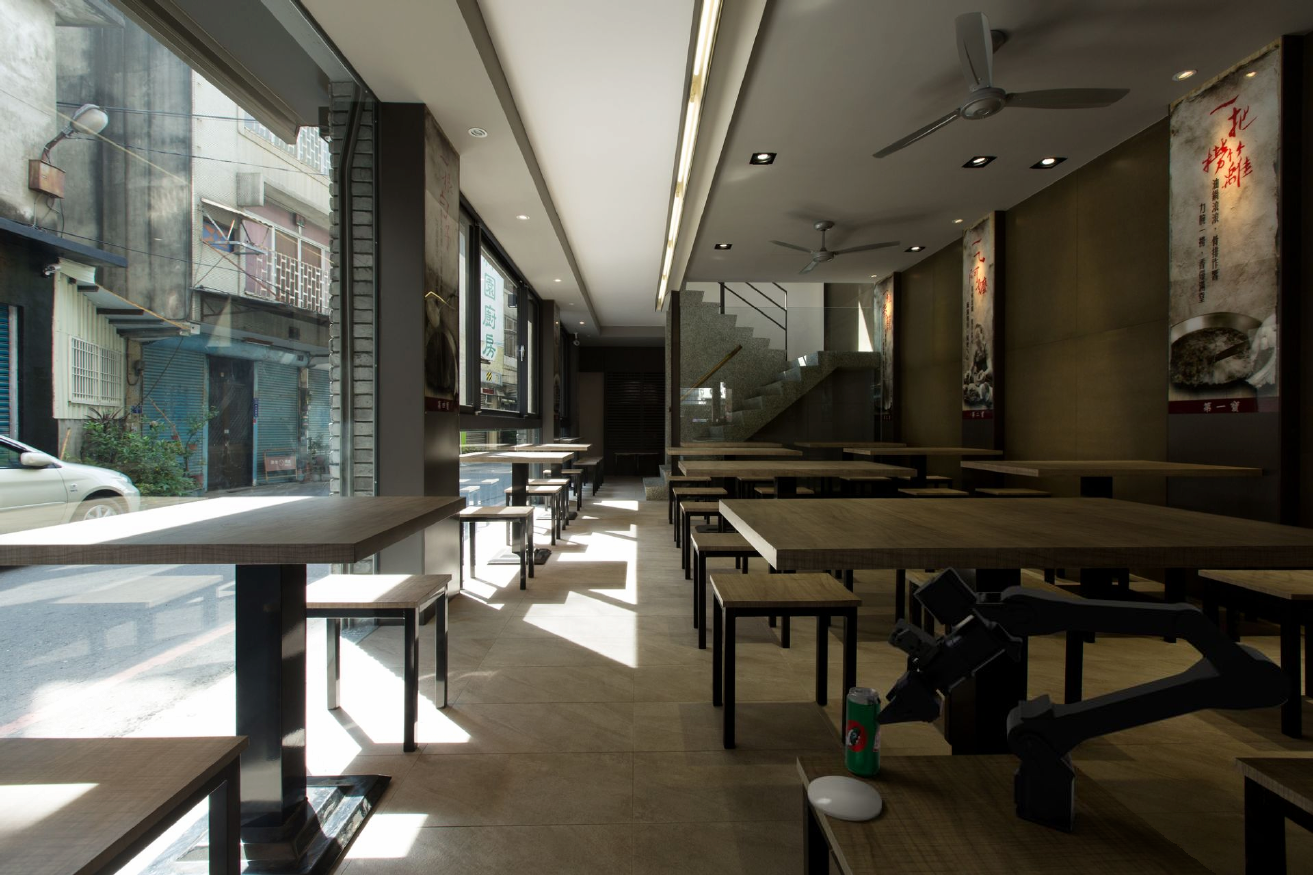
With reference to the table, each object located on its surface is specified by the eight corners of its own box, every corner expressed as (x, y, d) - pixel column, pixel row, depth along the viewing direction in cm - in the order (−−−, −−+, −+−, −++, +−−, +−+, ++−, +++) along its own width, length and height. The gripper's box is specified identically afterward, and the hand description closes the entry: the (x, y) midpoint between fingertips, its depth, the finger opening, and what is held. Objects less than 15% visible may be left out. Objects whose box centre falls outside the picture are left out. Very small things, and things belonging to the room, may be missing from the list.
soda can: (881, 780, 99) (883, 700, 99) (846, 776, 100) (848, 696, 100) (877, 763, 104) (879, 687, 104) (843, 759, 105) (845, 684, 105)
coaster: (891, 797, 94) (891, 791, 94) (867, 830, 86) (867, 824, 86) (824, 774, 100) (824, 768, 100) (796, 803, 92) (796, 797, 92)
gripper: (930, 592, 106) (857, 648, 111) (915, 621, 90) (831, 685, 95) (983, 650, 103) (905, 705, 108) (978, 691, 86) (887, 754, 91)
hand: (882, 710), depth 101 cm, fingers open, 9 cm apart
